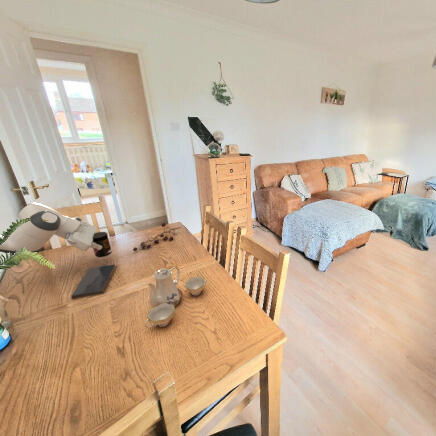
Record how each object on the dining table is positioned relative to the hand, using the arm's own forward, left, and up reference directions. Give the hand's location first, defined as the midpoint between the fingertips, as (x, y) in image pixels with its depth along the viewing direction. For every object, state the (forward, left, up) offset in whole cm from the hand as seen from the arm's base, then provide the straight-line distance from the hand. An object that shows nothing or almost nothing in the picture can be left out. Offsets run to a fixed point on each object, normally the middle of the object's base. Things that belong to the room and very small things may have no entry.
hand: (102, 244), depth 113 cm
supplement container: (-1, 0, -6) cm, 6 cm away
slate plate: (-1, -15, -10) cm, 19 cm away
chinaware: (+31, -41, -10) cm, 53 cm away
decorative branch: (+21, +17, -10) cm, 29 cm away
